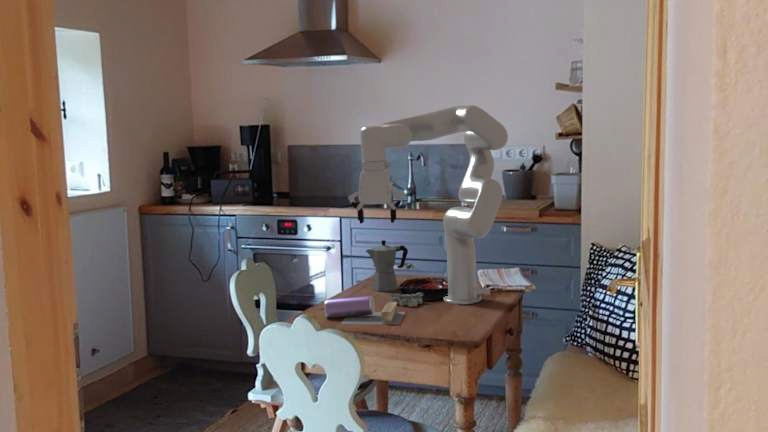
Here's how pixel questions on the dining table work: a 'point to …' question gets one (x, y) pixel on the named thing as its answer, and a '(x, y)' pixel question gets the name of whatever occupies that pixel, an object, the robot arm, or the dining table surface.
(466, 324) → the dining table surface
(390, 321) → the block
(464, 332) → the dining table surface
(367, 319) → the mat
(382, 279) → the coffeepot
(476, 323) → the dining table surface
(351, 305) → the beverage can
